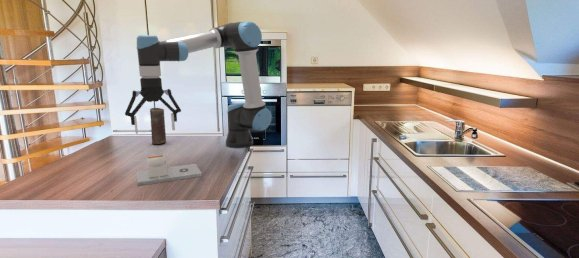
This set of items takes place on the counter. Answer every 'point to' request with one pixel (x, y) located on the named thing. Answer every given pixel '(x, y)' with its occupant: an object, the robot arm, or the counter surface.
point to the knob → (157, 166)
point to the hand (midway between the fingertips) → (155, 131)
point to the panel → (169, 174)
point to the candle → (157, 126)
